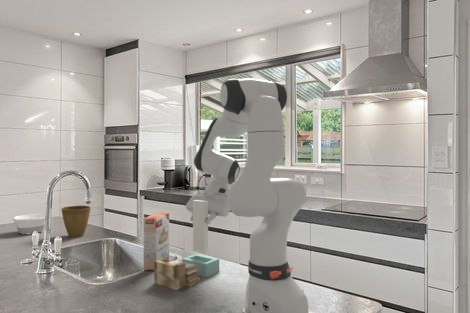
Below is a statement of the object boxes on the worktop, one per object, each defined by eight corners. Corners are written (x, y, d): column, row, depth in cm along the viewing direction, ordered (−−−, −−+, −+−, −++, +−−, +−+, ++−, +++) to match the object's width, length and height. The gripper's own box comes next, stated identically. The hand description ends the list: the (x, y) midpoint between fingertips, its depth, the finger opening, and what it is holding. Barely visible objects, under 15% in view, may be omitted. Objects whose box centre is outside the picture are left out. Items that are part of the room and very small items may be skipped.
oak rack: (185, 285, 130) (185, 263, 129) (176, 290, 126) (176, 266, 126) (163, 279, 136) (163, 258, 136) (154, 283, 132) (154, 261, 132)
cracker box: (157, 271, 145) (156, 218, 145) (143, 270, 147) (142, 218, 146) (170, 260, 159) (169, 212, 159) (157, 259, 160) (156, 211, 160)
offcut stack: (199, 282, 133) (199, 265, 133) (189, 286, 129) (189, 269, 129) (171, 274, 141) (171, 259, 141) (162, 278, 137) (161, 262, 137)
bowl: (46, 227, 228) (45, 212, 228) (50, 233, 214) (50, 216, 213) (12, 231, 218) (12, 215, 218) (14, 237, 204) (14, 220, 203)
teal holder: (219, 271, 144) (219, 258, 144) (206, 277, 138) (205, 264, 138) (196, 266, 151) (196, 253, 151) (182, 271, 145) (182, 258, 145)
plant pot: (66, 240, 195) (65, 210, 195) (58, 235, 207) (58, 207, 206) (94, 236, 205) (94, 207, 204) (86, 231, 216) (85, 204, 216)
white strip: (208, 252, 144) (207, 201, 143) (204, 253, 142) (204, 201, 141) (196, 249, 147) (196, 199, 146) (193, 251, 145) (192, 200, 145)
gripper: (192, 187, 156) (176, 214, 148) (231, 190, 143) (215, 219, 136) (199, 196, 159) (184, 223, 152) (238, 200, 147) (223, 229, 140)
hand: (199, 221), depth 144 cm, fingers closed on white strip, 6 cm apart
